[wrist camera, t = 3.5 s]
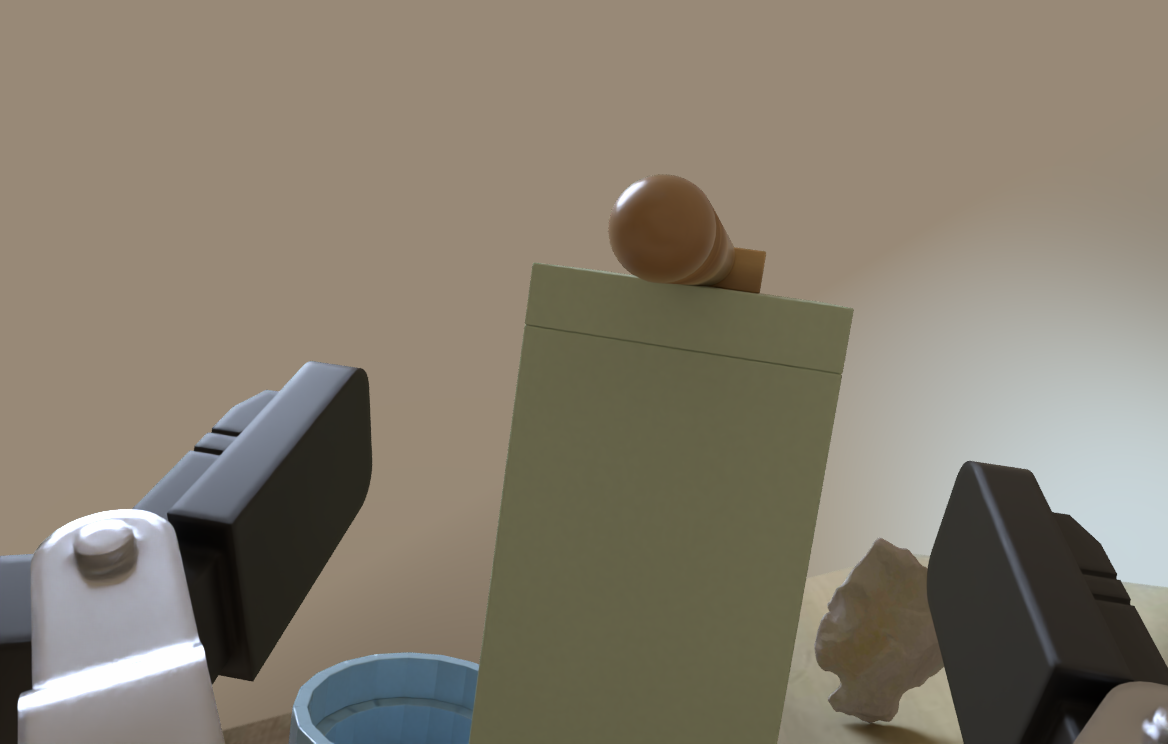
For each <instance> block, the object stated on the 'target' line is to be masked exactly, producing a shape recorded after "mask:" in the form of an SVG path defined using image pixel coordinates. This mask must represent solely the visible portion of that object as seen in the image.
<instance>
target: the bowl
mask: <svg viewBox="0 0 1168 744" xmlns="http://www.w3.org/2000/svg"><path fill="white" fill-rule="evenodd" d="M478 670H479V665H478V664H476V663H473V662H470V661H465V660H461V659H457V658H453V657H448V656H444V655H435V654H422V653H409V652H408V653H390V654H375V655H370V656H365V657H361V658H356V659H352V660H347V661H344V662H341V663H338V664H336V665H334V666H332V667H330V668H327V669H325V670H323V671H321V672H319V673H317V674H315V675H314V676H313V677H312V678H311V679H310V680H309V681H307V682H306V683H305V684H304V685H303V686H302V687H301V688H300V690H299V692H298V695H297V697H296V700H295V702H294V705H293V709H292V718H291V727H290V736H289V744H469V738H470V730H471V723H472V715H473V708H474V700H475V693H476V685H477V678H478Z"/></svg>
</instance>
